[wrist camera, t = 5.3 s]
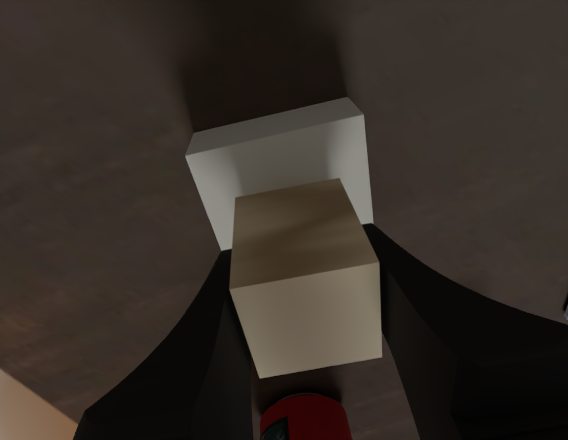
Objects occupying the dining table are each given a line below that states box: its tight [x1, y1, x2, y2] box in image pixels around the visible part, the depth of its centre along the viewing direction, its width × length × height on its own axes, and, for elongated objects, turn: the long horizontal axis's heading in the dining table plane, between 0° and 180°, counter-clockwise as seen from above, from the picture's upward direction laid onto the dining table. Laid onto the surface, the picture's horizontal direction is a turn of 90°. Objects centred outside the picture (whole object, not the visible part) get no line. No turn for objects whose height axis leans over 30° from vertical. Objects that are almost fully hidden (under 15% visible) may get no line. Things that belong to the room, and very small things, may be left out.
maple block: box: [229, 178, 382, 378], centre depth 13 cm, size 4×4×5 cm
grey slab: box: [185, 97, 373, 251], centre depth 17 cm, size 7×7×3 cm
